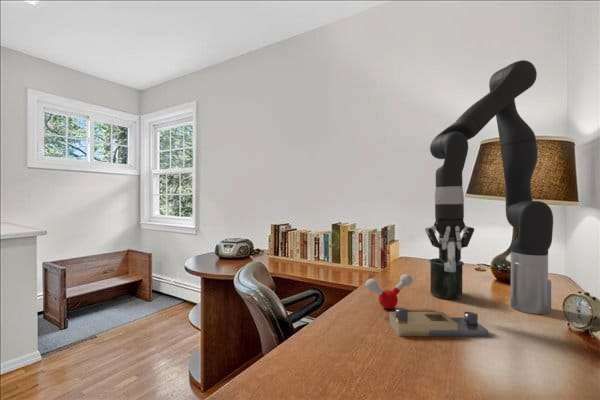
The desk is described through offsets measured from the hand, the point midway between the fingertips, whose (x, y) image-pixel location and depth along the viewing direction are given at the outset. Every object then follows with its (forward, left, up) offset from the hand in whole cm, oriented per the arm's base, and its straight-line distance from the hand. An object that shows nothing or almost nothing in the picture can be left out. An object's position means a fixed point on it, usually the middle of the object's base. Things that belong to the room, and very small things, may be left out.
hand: (449, 261), depth 90 cm
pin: (0, 0, -3) cm, 3 cm away
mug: (-9, -19, -16) cm, 26 cm away
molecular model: (+16, -5, -16) cm, 23 cm away
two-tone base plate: (+8, +10, -16) cm, 20 cm away
